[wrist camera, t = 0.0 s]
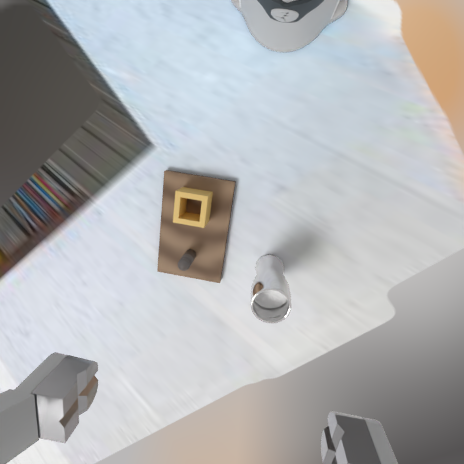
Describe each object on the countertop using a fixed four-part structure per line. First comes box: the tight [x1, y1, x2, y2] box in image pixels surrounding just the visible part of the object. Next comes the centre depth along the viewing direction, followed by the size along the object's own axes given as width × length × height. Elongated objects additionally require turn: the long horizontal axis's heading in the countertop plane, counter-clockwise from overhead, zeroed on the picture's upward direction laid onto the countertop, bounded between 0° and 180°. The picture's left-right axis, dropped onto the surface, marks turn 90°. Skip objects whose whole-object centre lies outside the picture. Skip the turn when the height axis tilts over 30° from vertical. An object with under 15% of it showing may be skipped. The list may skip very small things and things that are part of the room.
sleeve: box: [173, 187, 213, 228], centre depth 53 cm, size 6×6×5 cm
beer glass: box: [251, 255, 291, 323], centre depth 53 cm, size 7×7×15 cm
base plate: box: [158, 170, 235, 283], centre depth 55 cm, size 22×14×8 cm, turn 172°
